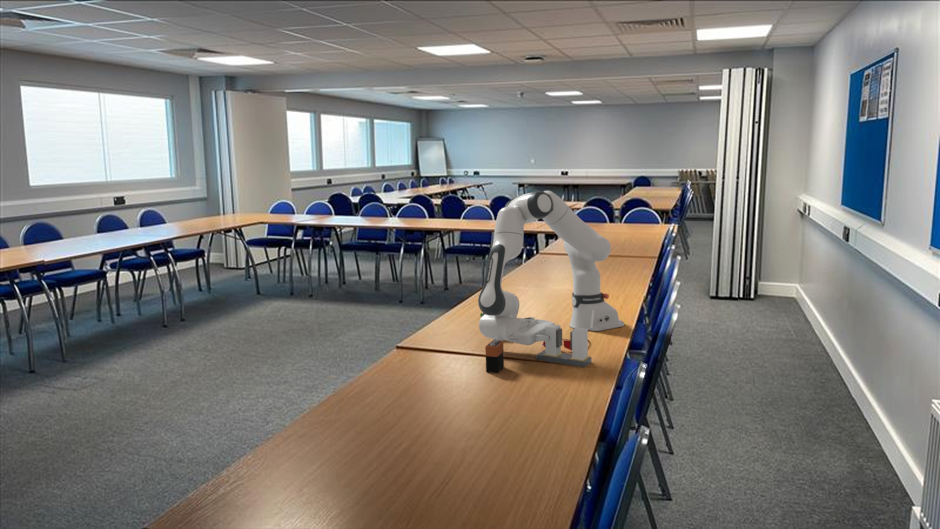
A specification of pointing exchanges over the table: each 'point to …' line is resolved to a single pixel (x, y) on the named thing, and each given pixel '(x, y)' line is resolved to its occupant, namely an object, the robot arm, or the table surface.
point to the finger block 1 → (553, 339)
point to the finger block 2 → (579, 343)
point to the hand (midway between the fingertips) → (555, 335)
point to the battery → (494, 356)
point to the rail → (564, 359)
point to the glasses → (566, 343)
